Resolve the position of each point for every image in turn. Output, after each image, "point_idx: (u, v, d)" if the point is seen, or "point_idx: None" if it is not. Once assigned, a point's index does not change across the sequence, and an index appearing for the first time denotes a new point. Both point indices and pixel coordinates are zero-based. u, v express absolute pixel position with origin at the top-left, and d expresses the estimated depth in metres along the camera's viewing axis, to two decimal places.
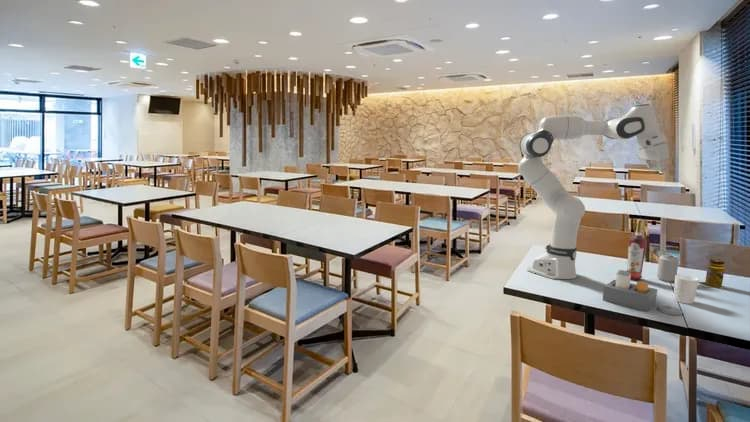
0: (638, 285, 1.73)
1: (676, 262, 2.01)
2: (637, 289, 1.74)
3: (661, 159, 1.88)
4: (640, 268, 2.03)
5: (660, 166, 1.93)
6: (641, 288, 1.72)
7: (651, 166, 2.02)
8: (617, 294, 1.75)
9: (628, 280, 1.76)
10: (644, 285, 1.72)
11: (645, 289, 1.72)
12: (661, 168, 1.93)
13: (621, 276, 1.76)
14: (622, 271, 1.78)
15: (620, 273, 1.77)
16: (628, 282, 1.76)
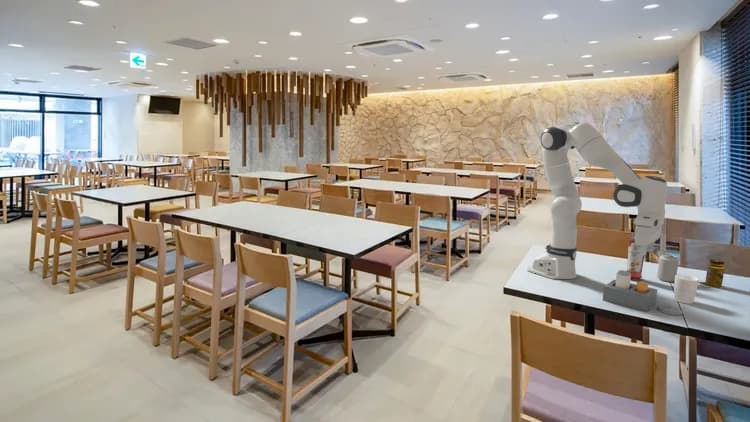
0: (638, 285, 1.73)
1: (676, 262, 2.01)
2: (637, 289, 1.74)
3: (636, 243, 1.65)
4: (640, 268, 2.03)
5: (641, 251, 1.68)
6: (641, 288, 1.72)
7: (649, 249, 1.73)
8: (617, 294, 1.75)
9: (628, 280, 1.76)
10: (644, 285, 1.72)
11: (645, 289, 1.72)
12: (642, 253, 1.68)
13: (621, 276, 1.76)
14: (622, 271, 1.78)
15: (620, 273, 1.77)
16: (628, 282, 1.76)
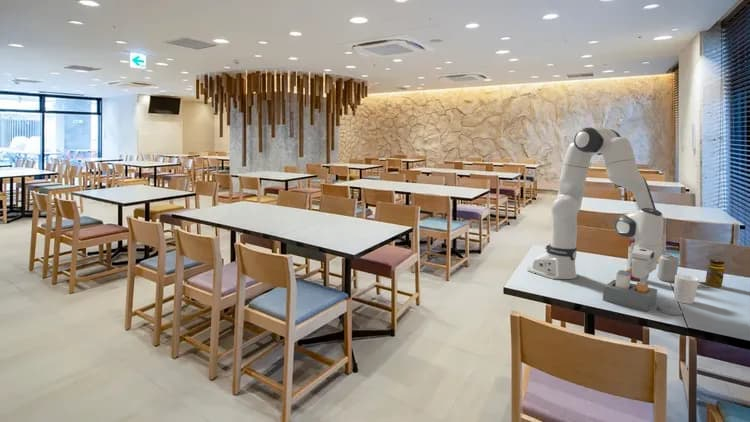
0: (638, 286, 1.73)
1: (676, 262, 2.01)
2: (637, 290, 1.74)
3: (633, 275, 1.67)
4: None
5: (641, 280, 1.72)
6: (641, 289, 1.72)
7: None
8: (617, 294, 1.75)
9: (628, 280, 1.76)
10: (644, 286, 1.72)
11: (645, 290, 1.72)
12: (641, 283, 1.73)
13: (621, 276, 1.76)
14: (622, 271, 1.78)
15: (620, 273, 1.77)
16: (628, 282, 1.76)
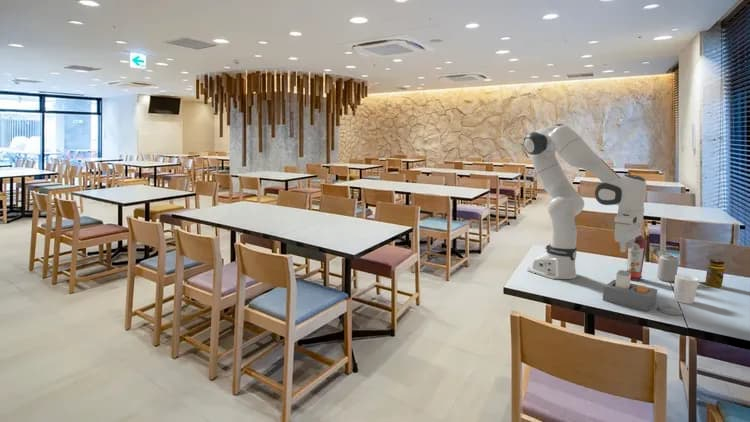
0: (638, 289, 1.73)
1: (676, 262, 2.01)
2: None
3: (615, 239, 1.70)
4: (640, 268, 2.03)
5: (621, 247, 1.73)
6: None
7: (630, 246, 1.79)
8: (617, 294, 1.75)
9: (628, 280, 1.76)
10: (643, 289, 1.72)
11: None
12: (621, 250, 1.73)
13: (621, 276, 1.76)
14: (622, 271, 1.78)
15: (620, 273, 1.77)
16: (628, 282, 1.76)
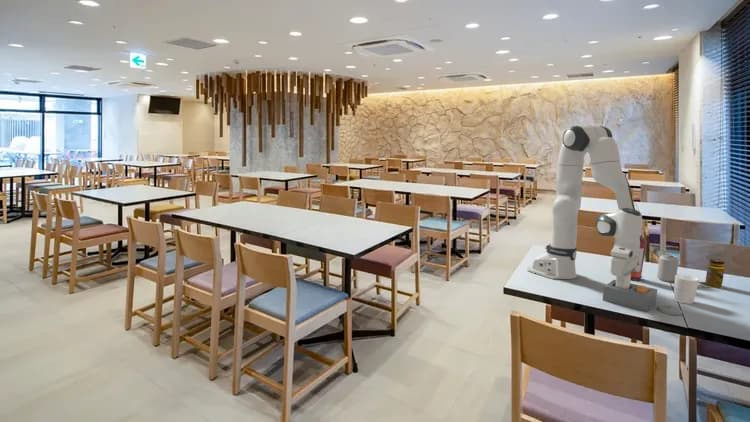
0: (638, 289, 1.73)
1: (676, 262, 2.01)
2: None
3: (612, 273, 1.72)
4: (640, 268, 2.03)
5: (618, 279, 1.76)
6: None
7: None
8: (617, 294, 1.75)
9: (628, 280, 1.76)
10: (643, 289, 1.72)
11: None
12: (619, 282, 1.76)
13: None
14: None
15: None
16: (628, 282, 1.76)
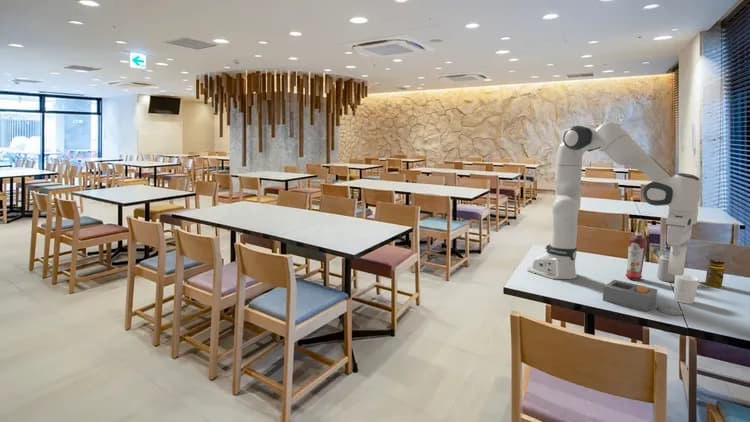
0: (638, 289, 1.73)
1: None
2: None
3: (668, 243, 1.58)
4: (640, 268, 2.03)
5: (673, 251, 1.62)
6: None
7: None
8: (617, 294, 1.75)
9: (684, 251, 1.62)
10: (643, 289, 1.72)
11: None
12: (674, 253, 1.62)
13: None
14: None
15: None
16: (684, 253, 1.62)
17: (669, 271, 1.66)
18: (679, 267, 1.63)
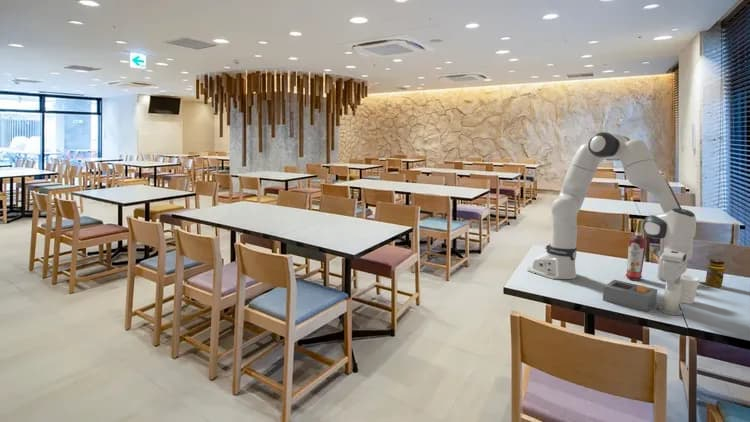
0: (638, 289, 1.73)
1: None
2: None
3: (663, 278, 1.60)
4: (640, 268, 2.03)
5: (668, 285, 1.64)
6: None
7: None
8: (617, 294, 1.75)
9: (679, 289, 1.65)
10: (643, 289, 1.72)
11: None
12: (669, 288, 1.64)
13: None
14: None
15: None
16: (679, 291, 1.65)
17: (664, 307, 1.68)
18: (674, 304, 1.66)
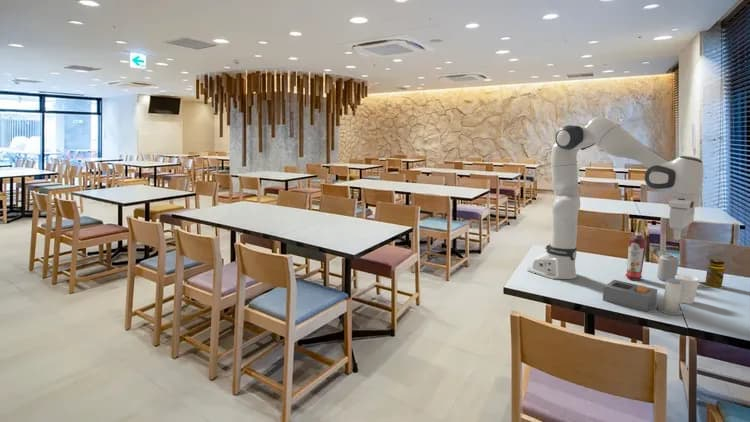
0: (638, 289, 1.73)
1: (676, 262, 2.01)
2: None
3: (670, 226, 1.57)
4: (640, 268, 2.03)
5: (675, 235, 1.60)
6: None
7: (683, 234, 1.66)
8: (617, 294, 1.75)
9: (679, 289, 1.65)
10: (643, 289, 1.72)
11: None
12: (675, 237, 1.60)
13: (671, 284, 1.65)
14: (672, 279, 1.67)
15: (670, 281, 1.66)
16: (679, 291, 1.65)
17: (664, 307, 1.68)
18: (674, 304, 1.66)
